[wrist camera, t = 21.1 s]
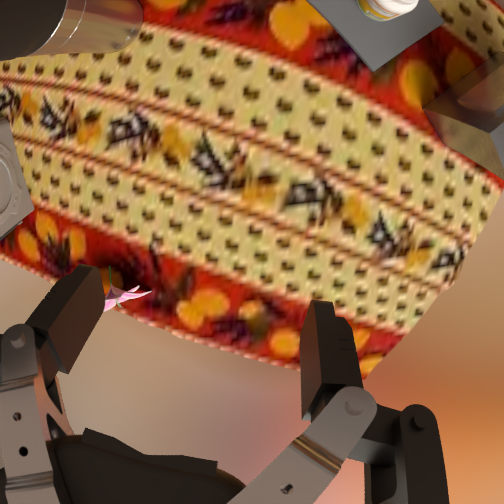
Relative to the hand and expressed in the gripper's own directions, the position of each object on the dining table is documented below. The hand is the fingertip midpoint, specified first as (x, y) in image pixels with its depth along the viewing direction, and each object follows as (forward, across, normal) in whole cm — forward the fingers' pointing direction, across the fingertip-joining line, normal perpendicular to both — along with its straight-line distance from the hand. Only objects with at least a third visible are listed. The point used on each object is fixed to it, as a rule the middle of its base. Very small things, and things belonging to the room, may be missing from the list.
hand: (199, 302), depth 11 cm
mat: (+32, +12, +21) cm, 40 cm away
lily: (+32, -20, -28) cm, 48 cm away
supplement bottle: (+31, +12, +21) cm, 40 cm away
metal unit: (+32, +29, +13) cm, 45 cm away
